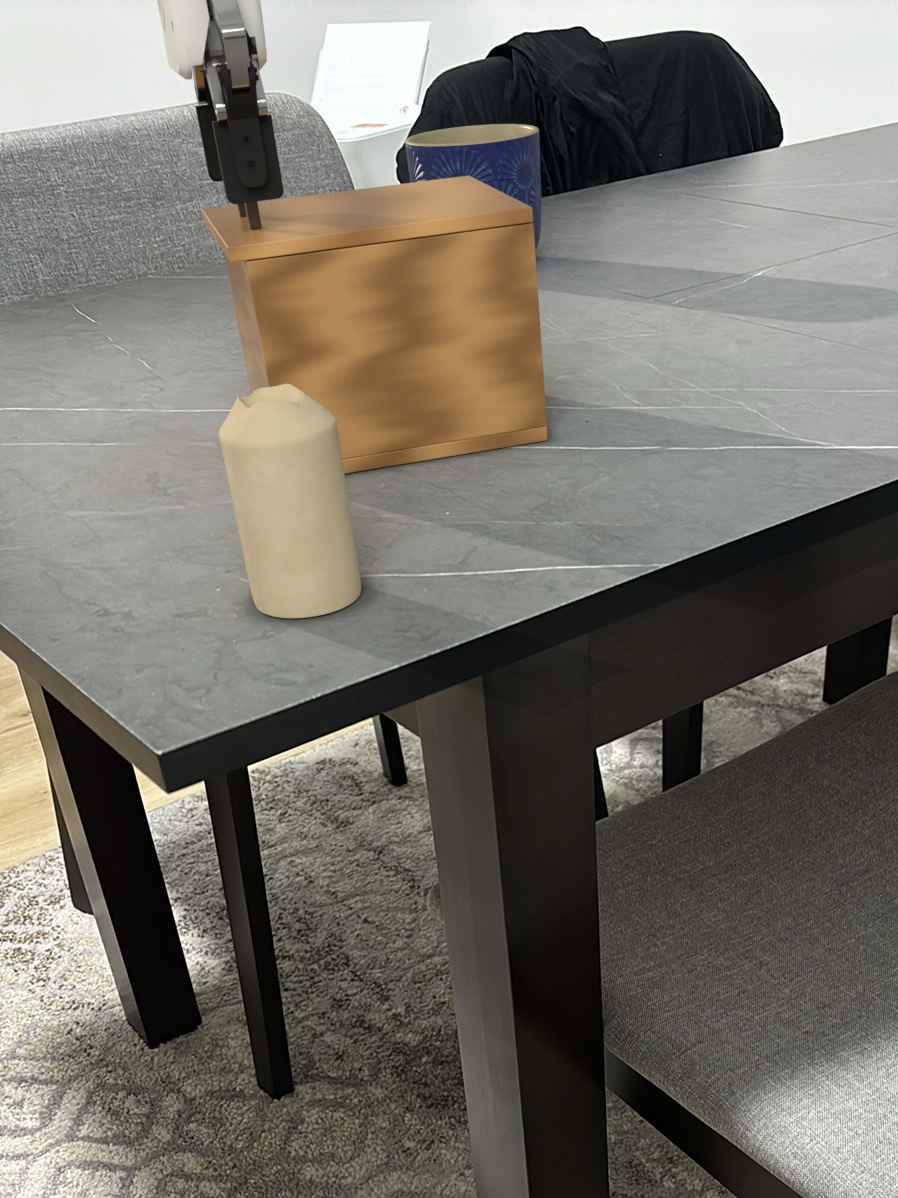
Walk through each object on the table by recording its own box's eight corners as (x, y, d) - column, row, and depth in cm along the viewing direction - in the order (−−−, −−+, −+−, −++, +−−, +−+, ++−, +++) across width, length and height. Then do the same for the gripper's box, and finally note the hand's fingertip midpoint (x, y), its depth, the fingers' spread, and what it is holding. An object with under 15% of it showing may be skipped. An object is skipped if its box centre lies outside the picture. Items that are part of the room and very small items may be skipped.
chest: (286, 483, 85) (246, 261, 77) (255, 420, 96) (218, 222, 89) (548, 440, 88) (533, 223, 81) (488, 384, 100) (470, 189, 92)
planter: (408, 261, 138) (393, 134, 131) (528, 245, 140) (519, 119, 133) (433, 284, 128) (418, 149, 121) (562, 267, 130) (554, 133, 123)
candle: (357, 615, 68) (323, 404, 62) (245, 623, 68) (201, 413, 62) (367, 573, 72) (337, 371, 66) (263, 580, 73) (223, 380, 66)
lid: (230, 262, 77) (211, 160, 74) (204, 222, 89) (186, 132, 86) (533, 222, 81) (527, 122, 78) (470, 188, 92) (462, 100, 89)
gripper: (98, -169, 78) (170, 178, 88) (112, -193, 64) (195, 219, 75) (231, -179, 79) (287, 163, 89) (273, -205, 66) (332, 201, 76)
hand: (245, 188), depth 82 cm, fingers open, 9 cm apart
